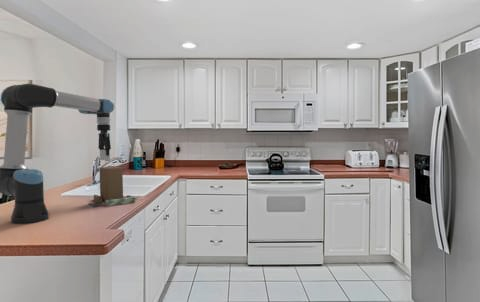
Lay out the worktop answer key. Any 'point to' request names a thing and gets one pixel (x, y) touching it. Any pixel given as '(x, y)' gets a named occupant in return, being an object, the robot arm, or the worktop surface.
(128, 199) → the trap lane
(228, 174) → the worktop surface
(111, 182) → the block
